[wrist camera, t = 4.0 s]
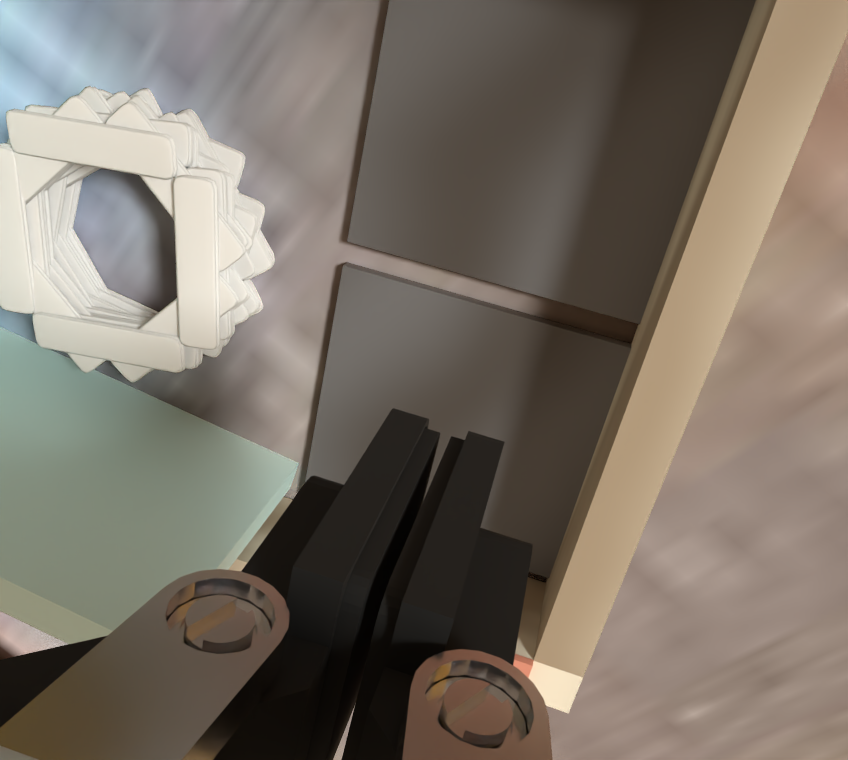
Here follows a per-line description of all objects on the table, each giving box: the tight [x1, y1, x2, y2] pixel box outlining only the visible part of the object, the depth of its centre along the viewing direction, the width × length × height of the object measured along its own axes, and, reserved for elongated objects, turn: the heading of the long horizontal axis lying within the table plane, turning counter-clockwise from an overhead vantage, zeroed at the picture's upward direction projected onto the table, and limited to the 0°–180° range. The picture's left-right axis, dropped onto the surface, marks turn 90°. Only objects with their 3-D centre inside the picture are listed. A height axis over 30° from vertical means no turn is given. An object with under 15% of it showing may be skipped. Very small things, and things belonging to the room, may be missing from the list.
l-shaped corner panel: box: [0, 86, 299, 644], centre depth 17 cm, size 12×12×8 cm
